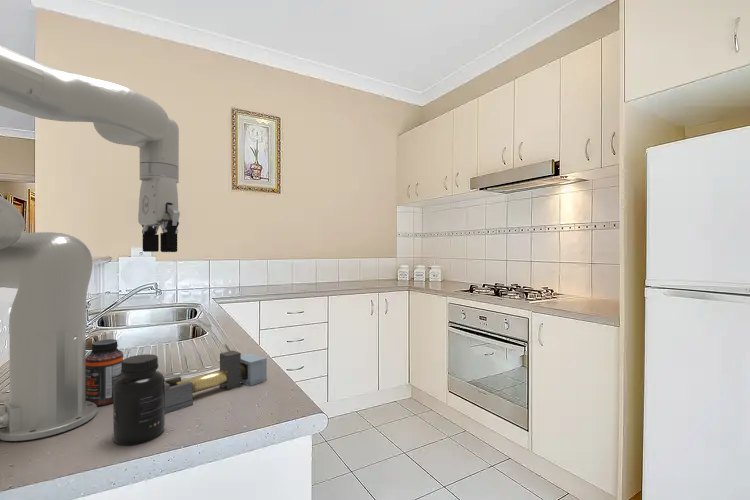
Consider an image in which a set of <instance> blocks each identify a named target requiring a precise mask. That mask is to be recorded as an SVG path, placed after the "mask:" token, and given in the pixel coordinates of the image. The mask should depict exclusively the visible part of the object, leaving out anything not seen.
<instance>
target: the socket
mask: <svg viewBox="0 0 750 500" xmlns="http://www.w3.org/2000/svg"><path fill="white" fill-rule="evenodd" d="M267 359H268V358H267V357H264V356H261V355H258V354H254V353H252V352H249V353H246V354H241V365H243V364H247V365H248V377H246V378H242V379H241V383H242V384H244V385H247V386H250V387H251V386H255V385H258V384H261V383H264V382H267V377H268V376H267V368H268V367H267V366H268V364H267Z"/></svg>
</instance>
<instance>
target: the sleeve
mask: <svg viewBox="0 0 750 500" xmlns="http://www.w3.org/2000/svg"><path fill="white" fill-rule="evenodd" d="M180 381H182V377H181V376H179V375H178V376H174V377H170V378H167V379H166V378H165V414H168V413H170V412H174V411H176V410H178V411H179V410H180V409H184V408H186V407H189V406H192V405H194V400H193V393H192V382H186V383H183V384H179V385H175V383H176V382H180ZM174 385H175V386H174Z"/></svg>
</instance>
